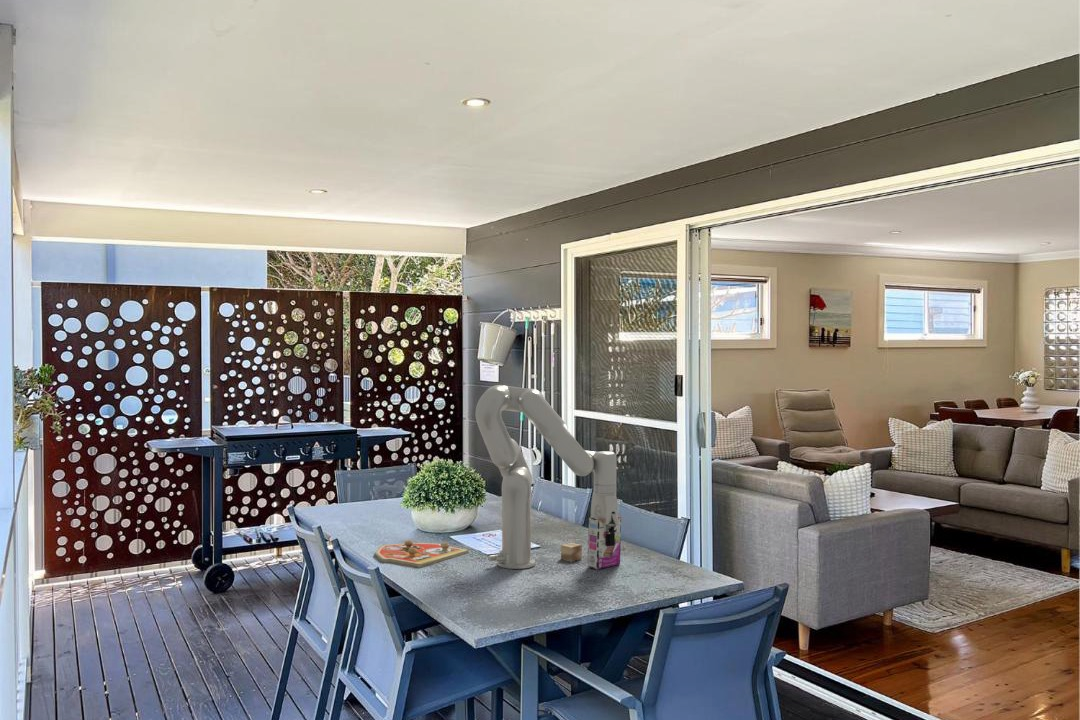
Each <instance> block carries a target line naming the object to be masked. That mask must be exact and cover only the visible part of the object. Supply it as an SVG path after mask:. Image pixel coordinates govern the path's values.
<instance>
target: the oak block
mask: <svg viewBox="0 0 1080 720" xmlns="http://www.w3.org/2000/svg"><path fill="white" fill-rule="evenodd" d="M582 547H583V546H582V544H578V543H574V542H569V543H564V544H561V545H560V560H562V559H565V560H564V561H566V560H568V561H567V562H570V561H573V562H576V561H575V560H577V561H580V560H579V559H582V558H583V556H582V555H583V554H582V553H583V551H582V550H583V549H582Z"/></svg>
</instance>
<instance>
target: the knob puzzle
mask: <svg viewBox="0 0 1080 720" xmlns="http://www.w3.org/2000/svg"><path fill="white" fill-rule="evenodd" d="M374 552H375V555H374V556H375V558H376V559H377V560H378V561H380V562H381V563H384V564H395V565H402V566H407V567H413V568H417V569H422V568H425V567H428V566H431V565H435V564H438V563H441V562H444V561H447V560H450V559H454V558H457V557H460V556H462V555H466V554H469V549H465V548H459V547H456V546H450V544H449V543H448V542H445V541H444V542H442V543H435V542H434V543H433V542H431V543H430V542H413V540H411V539H407V540H405V541H404V543H392V544H391V543H390V544H389V543H388V544H382V545H380V546H379V547H378V548H377V549H376V551H374Z"/></svg>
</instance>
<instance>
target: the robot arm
mask: <svg viewBox="0 0 1080 720" xmlns="http://www.w3.org/2000/svg"><path fill="white" fill-rule="evenodd" d="M503 411H507V412H508V411H509V412H516V413H523V415H524V416H525V417H526V418H527V419H528V421H529V422H530V423H531V424H532V425H533V427H534V428H536V430H537V431H538V433H540V435H541V436H542V437H543V438H544V439H545V440H546V442H547V444H549V446H551V448H552V449H553V450H554V451H555V452H556V454H557V456H559V457H560V459H562V461H563V462H564V463H565V464H566V466H567V467H568V468H569V469H570V470H571V472H572V473H574V474H575V475H576V476H578V477H579V476H580V477H586V476H588V475H589V474H591V473H592V472H593V492H592V496H591V502H590V503H591V505H590V518H591V517H598V518H601V519H603V525H604V526H606V530H607V534H606V546H614V545H615V533H616V530H617V528H618V527H619V523H618V516H619V514H618V513H619V511H618V500H617V499H618V497H617V458H618V457H617V455H616V453H615V452H614V451H608V450H607V451H605V450H603V451H600V450H599V451H592V450H586V449H584V447H582V446H581V445H580V443H579V442H578V441H577V439H575V437H574V436H573V434H572V433H571V431H570V429H569V426H568V425H567V423H566V422H565V421H564V420H563V418H562V417H561V416H560V415H559V414H558V413H557V412H556V410H555V409H554V408H553V407H552V406H551V404H550V403H549V402H548V401H547V400H546V398H545V397H544V395H543V393H542V392H541V391H539V390H538V389H535V388H527V387H526V388H525V387H518V386H510V385H503V384H496V385H493V386H491V387H489V388H487V389H486V390H485V391H484V392H483V394H482V395H481V396H480V397H479V399H478V401H477V403H476V407H475V420H476V423H477V426H478V429H479V431H480V434H481V436H482V440H483V442H484V444H485V447H486V450H487V451H488V454H489V457H490V460H491V461H492V463H493V464H494V465H495V466H496V467H497V468H498V470H499V472H500V475H501V477H502V478H503V479H502V482H501V515H502V516H501V518H502V519H501V522H502V523H501V527H502V529H501V530H502V531H501V534H502V535H501V537H502V538H501V550H499V551H498V553H496V554H491V555H490V554H489V555H488V561H489V562H496V564H497V566H498V567H501V568H502V569H503V568H504V569H510V570H522V569H529V568H533V567H535V566H536V560H535V559H533V558H532V551H531V550H532V495H531V494H532V484H533V476H532V473H531V469H530V467H529V466H528V464H527V461H526V459H525V456H524V454H523V452H522V450H521V448H520V445H519V444H518V442H517V441H516V440H515V439H513V438H511V436H510V434H509V431H508V430H507V427H506V423H505V422H504V420H503V416H502V412H503ZM610 522H611V524H609V523H610ZM609 526H612V527H611V528H610V529H609Z"/></svg>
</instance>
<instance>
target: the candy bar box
mask: <svg viewBox="0 0 1080 720" xmlns="http://www.w3.org/2000/svg"><path fill="white" fill-rule="evenodd" d="M618 523H619V527H618V528H617V530H616V533H615V545H614V546H606V534H607V530H606V526H604V525H603V519H601V518H598V517H591V516H590V517H588V537H587V542H588V543H587V567H588V568H591V569H593V570H597V571H598V570H602V569H606V568H609V566H611V567H614V566H613V565H615V566H618V565H617V564H619V565H621V540H622V539H621V536H622V534H621V533H622V516H620V515H618ZM609 524H611V522H610V523H609ZM611 527H612V526H609V529H610V528H611Z"/></svg>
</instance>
